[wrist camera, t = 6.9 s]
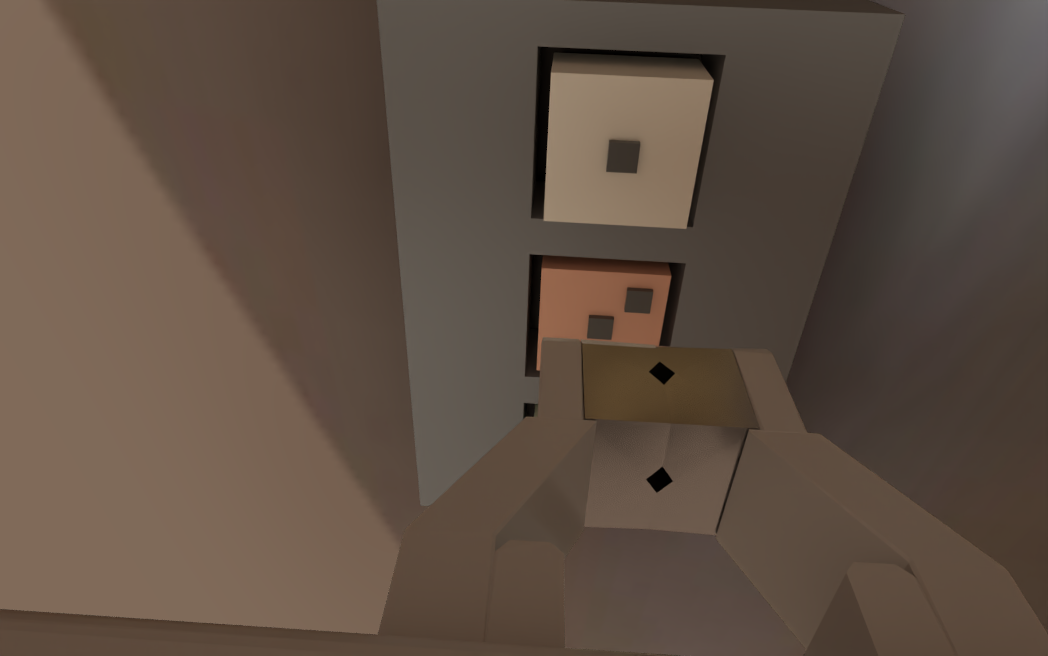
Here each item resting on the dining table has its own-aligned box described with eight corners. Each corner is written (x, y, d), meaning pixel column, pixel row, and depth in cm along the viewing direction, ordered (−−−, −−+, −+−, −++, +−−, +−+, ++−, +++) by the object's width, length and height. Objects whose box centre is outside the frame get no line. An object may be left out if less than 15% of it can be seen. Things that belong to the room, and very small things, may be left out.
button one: (698, 58, 18) (715, 82, 16) (675, 195, 20) (687, 232, 18) (553, 52, 18) (550, 74, 16) (546, 188, 20) (542, 223, 18)
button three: (662, 240, 22) (672, 278, 20) (646, 337, 24) (653, 381, 22) (544, 234, 22) (541, 271, 20) (539, 331, 25) (535, 373, 22)
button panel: (861, -3, 18) (905, 14, 16) (724, 473, 29) (738, 528, 26) (402, -22, 19) (375, -9, 16) (433, 453, 29) (420, 505, 27)
